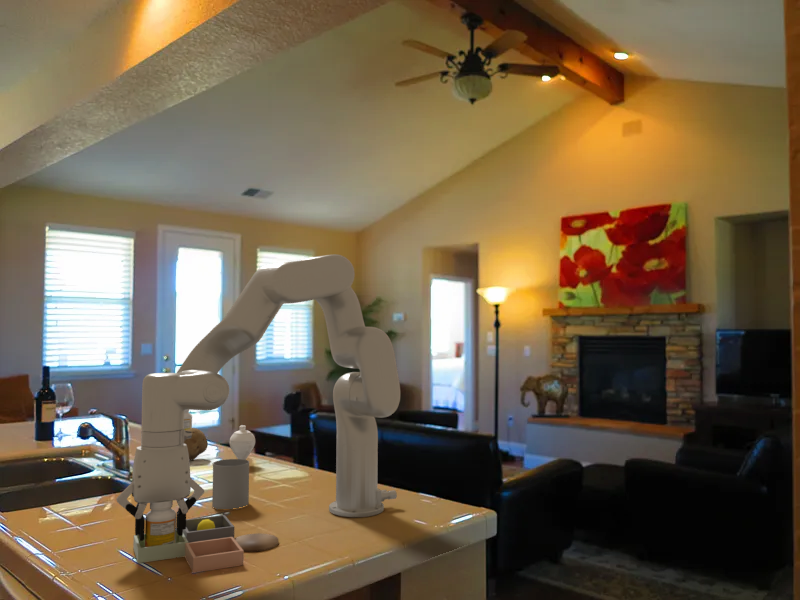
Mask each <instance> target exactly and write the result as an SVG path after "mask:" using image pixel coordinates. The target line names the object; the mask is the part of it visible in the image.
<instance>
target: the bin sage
mask: <svg viewBox="0 0 800 600" xmlns="http://www.w3.org/2000/svg"><path fill="white" fill-rule="evenodd" d="M185 543H188V541H187V539H186V537H185V535H184V534H183V535H182V536H179V535H178V534H177V532H176V543H172V544H165V545H157V546H150V547H145V533H144V540H143V541H140V539H139V535H137V536H135V534H134V535H133V547H132V548H133V551H134V554H135V555H134V556H135V558H136V561H137V562H136V563H137V564H143V563H148V562H155V561H161V560H169V559H177V558H182V557H183V558H185ZM176 557H177V558H176Z"/></svg>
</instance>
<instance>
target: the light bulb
mask: <svg viewBox="0 0 800 600" xmlns="http://www.w3.org/2000/svg"><path fill="white" fill-rule="evenodd" d="M214 528H215V525H214V522H213V521H211V520H209V519H206V520H202V521H201V522H200V523H199V524H198V527H197V528H196V531H199V530H206V529H214Z"/></svg>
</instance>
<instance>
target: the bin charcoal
mask: <svg viewBox="0 0 800 600" xmlns="http://www.w3.org/2000/svg"><path fill="white" fill-rule="evenodd" d="M206 519H209V520H211V521H213V522H214V525H215V528H214V529H206V530H199V531H196V528H197V527H198V524H199V523H200V522H201V521H202V520H206ZM183 534H184V535H185V537H186V539H187V541H188V543H190V542H198V541H205V540H212V539H220V538H227V537H233V538H235V526H234V524H233V523H232V522H231V521H230V520H229V518H228V517H227V516H226V515H225V514H220V515H214V516H212V515H211V516H205V517H204V516H203V517H197V518H188V519H187V518H186V529H184V530H183Z"/></svg>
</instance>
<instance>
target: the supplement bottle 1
mask: <svg viewBox="0 0 800 600" xmlns="http://www.w3.org/2000/svg"><path fill="white" fill-rule="evenodd" d="M173 501H174V500H172V501H163V502H154V503H149V509H150V511H148V512H147V513H146V515H145V531H144V534H145V547H150V546H157V545H165V544H172V543H176V520H177V511H176V510H175V509H173Z"/></svg>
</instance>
